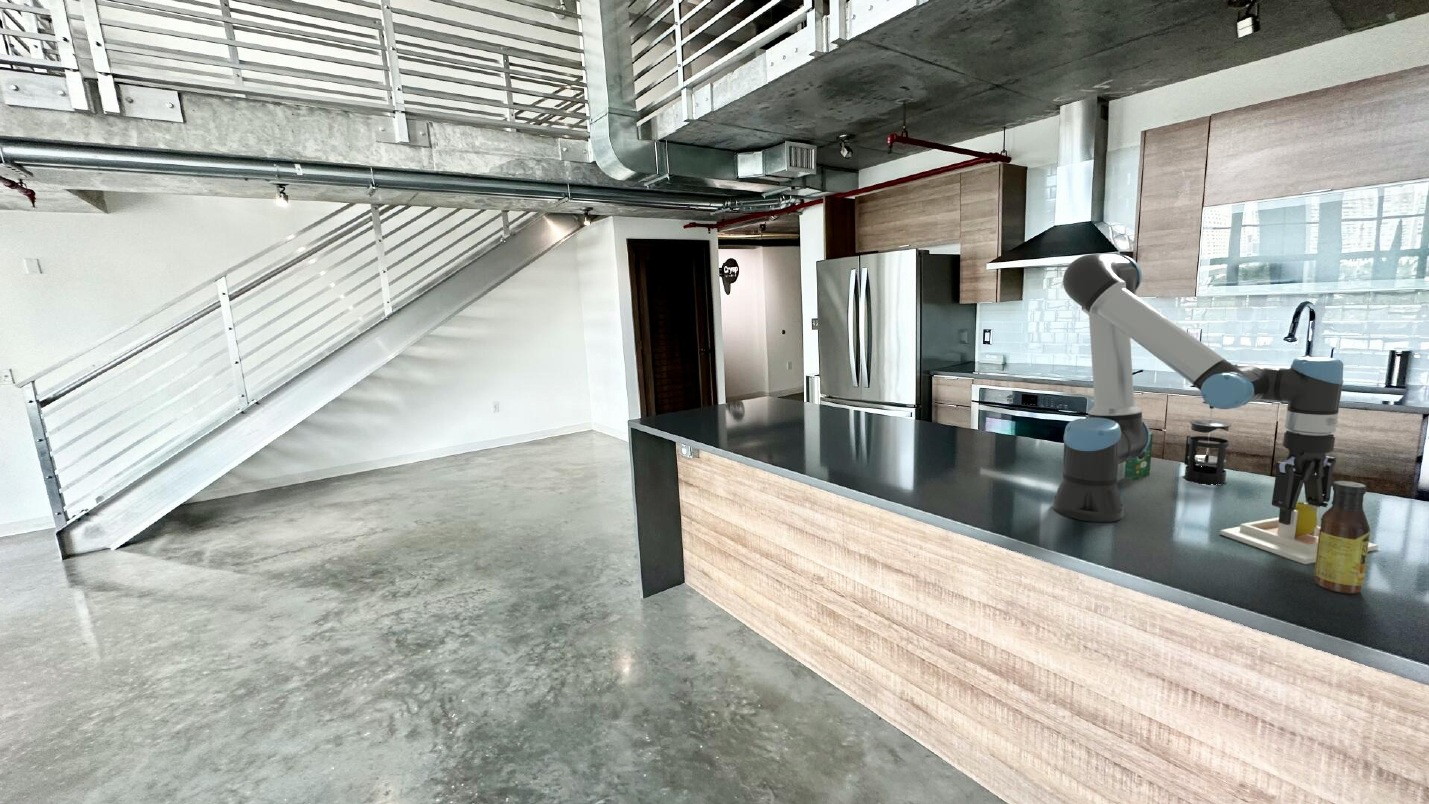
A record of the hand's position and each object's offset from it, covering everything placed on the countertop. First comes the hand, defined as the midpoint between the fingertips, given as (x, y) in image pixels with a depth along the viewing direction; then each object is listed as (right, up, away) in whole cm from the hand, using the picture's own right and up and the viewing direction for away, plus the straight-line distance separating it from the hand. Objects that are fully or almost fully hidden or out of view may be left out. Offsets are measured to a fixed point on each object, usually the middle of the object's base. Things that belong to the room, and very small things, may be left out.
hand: (1296, 535), depth 126 cm
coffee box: (-1, +7, +47) cm, 47 cm away
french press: (+14, +6, +41) cm, 44 cm away
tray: (0, -1, 0) cm, 1 cm away
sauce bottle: (-11, -6, -18) cm, 22 cm away
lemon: (0, -1, 0) cm, 1 cm away
